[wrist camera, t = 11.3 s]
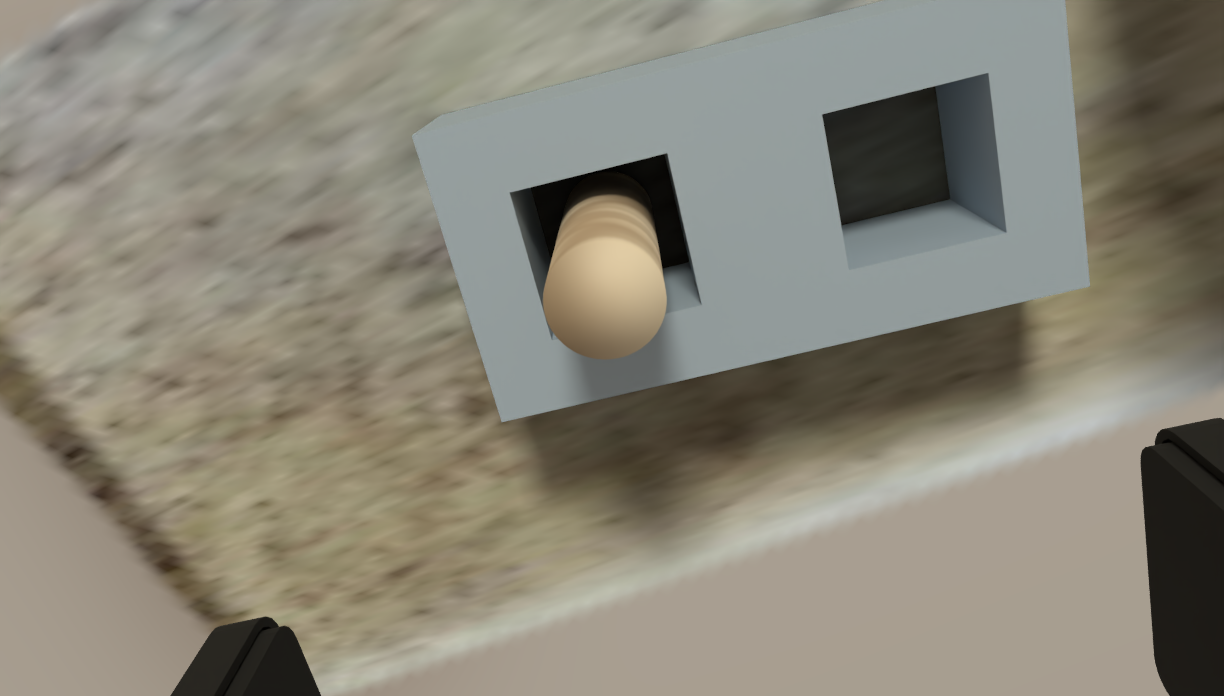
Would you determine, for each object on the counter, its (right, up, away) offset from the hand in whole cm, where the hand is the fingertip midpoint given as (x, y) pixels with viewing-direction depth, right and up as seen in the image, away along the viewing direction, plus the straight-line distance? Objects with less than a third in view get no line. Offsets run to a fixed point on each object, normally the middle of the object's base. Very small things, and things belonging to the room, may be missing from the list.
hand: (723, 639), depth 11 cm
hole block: (+3, +9, +22) cm, 24 cm away
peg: (-1, +8, +23) cm, 24 cm away
